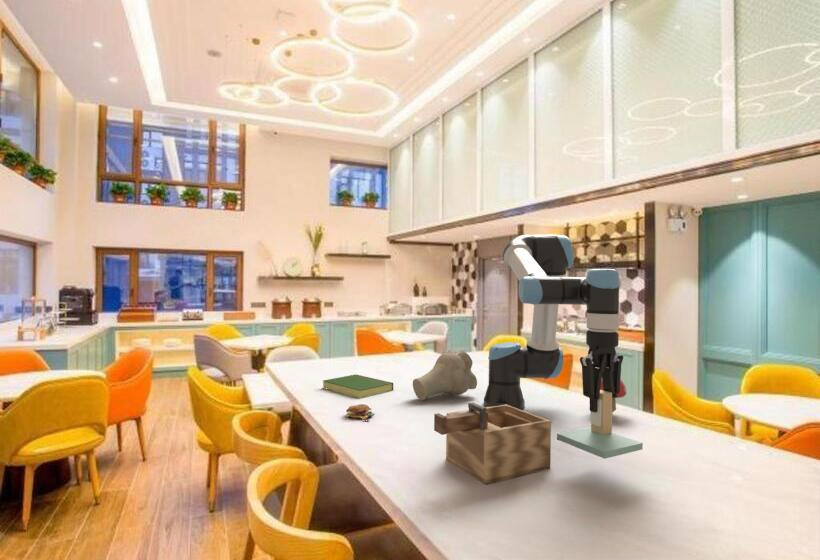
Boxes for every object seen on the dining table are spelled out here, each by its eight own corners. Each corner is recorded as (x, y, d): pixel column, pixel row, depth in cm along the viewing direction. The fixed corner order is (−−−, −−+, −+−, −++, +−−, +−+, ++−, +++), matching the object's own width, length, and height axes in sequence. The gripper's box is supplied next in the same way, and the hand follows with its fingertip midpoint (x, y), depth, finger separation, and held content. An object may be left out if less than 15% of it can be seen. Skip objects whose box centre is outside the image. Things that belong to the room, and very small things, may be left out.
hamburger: (333, 422, 153) (333, 403, 153) (353, 411, 166) (353, 394, 167) (371, 427, 148) (371, 408, 148) (389, 415, 161) (389, 398, 161)
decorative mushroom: (578, 414, 164) (579, 372, 164) (593, 407, 174) (594, 367, 174) (618, 422, 155) (618, 377, 155) (631, 414, 165) (631, 372, 165)
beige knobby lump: (421, 374, 167) (479, 350, 181) (389, 356, 185) (444, 335, 199) (426, 426, 173) (482, 399, 187) (395, 404, 190) (448, 380, 205)
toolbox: (505, 446, 131) (506, 386, 131) (550, 468, 116) (551, 400, 116) (431, 461, 119) (432, 395, 119) (470, 488, 104) (471, 412, 104)
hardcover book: (393, 391, 196) (393, 382, 196) (359, 399, 183) (360, 390, 183) (354, 382, 213) (354, 374, 213) (321, 389, 199) (321, 380, 199)
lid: (593, 432, 121) (593, 387, 121) (642, 449, 109) (643, 400, 109) (556, 439, 115) (557, 392, 115) (604, 458, 102) (605, 406, 102)
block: (480, 422, 113) (480, 407, 113) (489, 426, 110) (489, 410, 110) (434, 430, 107) (434, 413, 107) (442, 434, 104) (442, 417, 104)
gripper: (611, 327, 124) (610, 415, 124) (567, 330, 116) (566, 423, 116) (636, 330, 117) (635, 423, 117) (592, 333, 109) (590, 432, 109)
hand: (601, 423), depth 116 cm, fingers closed on lid, 3 cm apart
